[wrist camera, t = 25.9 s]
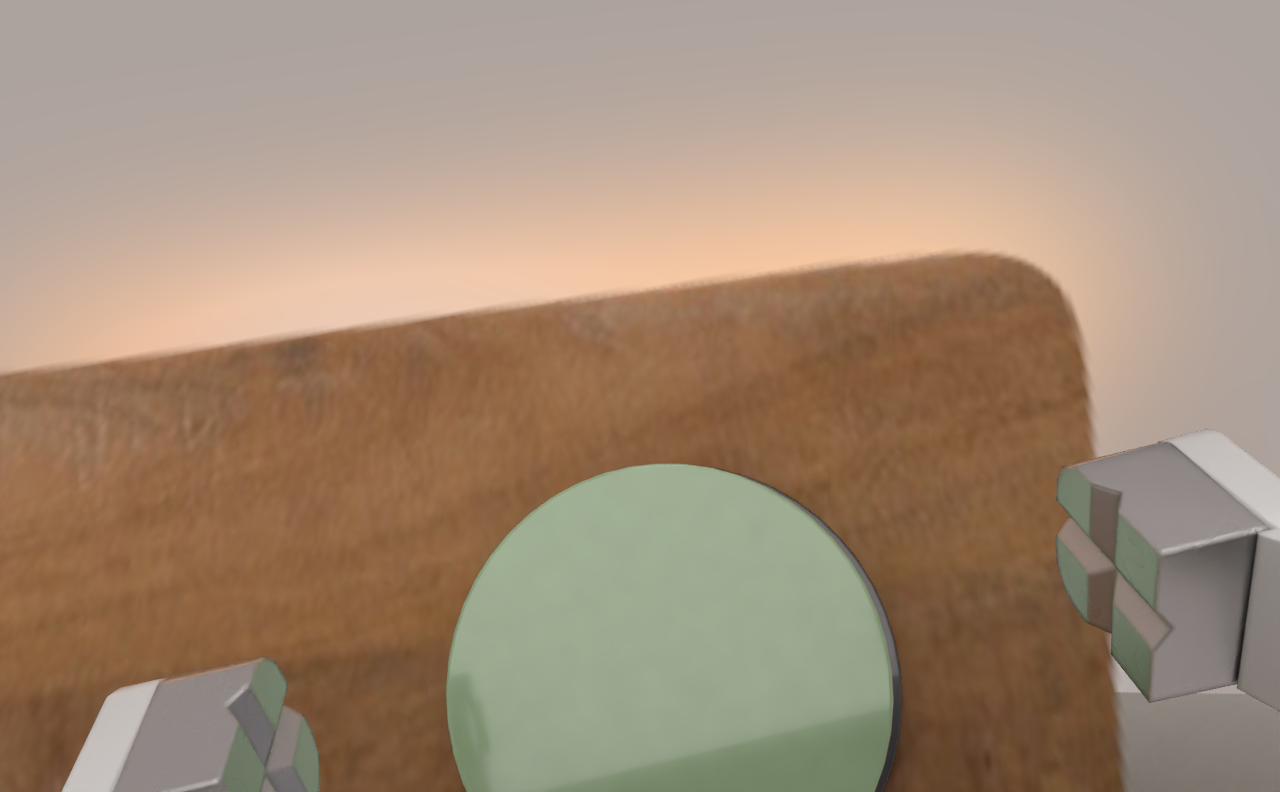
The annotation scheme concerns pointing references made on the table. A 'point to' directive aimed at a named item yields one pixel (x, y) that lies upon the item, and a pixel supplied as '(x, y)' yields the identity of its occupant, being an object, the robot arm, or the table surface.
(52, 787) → the table surface
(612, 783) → the sage green cylinder
